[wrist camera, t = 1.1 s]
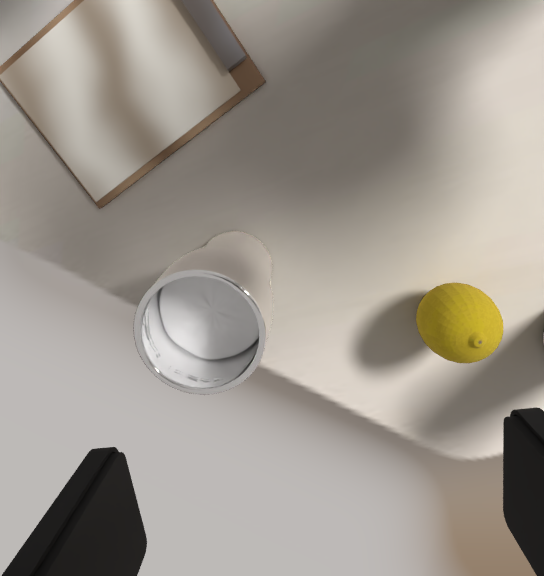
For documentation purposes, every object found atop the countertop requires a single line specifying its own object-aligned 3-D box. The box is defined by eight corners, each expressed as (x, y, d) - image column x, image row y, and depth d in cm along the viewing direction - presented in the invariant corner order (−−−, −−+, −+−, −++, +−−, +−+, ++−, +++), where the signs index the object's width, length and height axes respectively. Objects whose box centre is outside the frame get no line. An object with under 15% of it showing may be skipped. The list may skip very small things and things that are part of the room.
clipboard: (163, -76, 30) (158, -85, 29) (265, 82, 32) (264, 78, 31) (-3, 73, 33) (-14, 70, 32) (101, 208, 35) (94, 209, 34)
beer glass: (176, 270, 36) (100, 338, 22) (230, 206, 35) (188, 234, 20) (240, 324, 37) (208, 423, 23) (296, 264, 36) (300, 331, 21)
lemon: (458, 344, 37) (503, 390, 29) (395, 326, 37) (423, 368, 29) (484, 282, 36) (538, 314, 28) (419, 264, 35) (455, 291, 28)
